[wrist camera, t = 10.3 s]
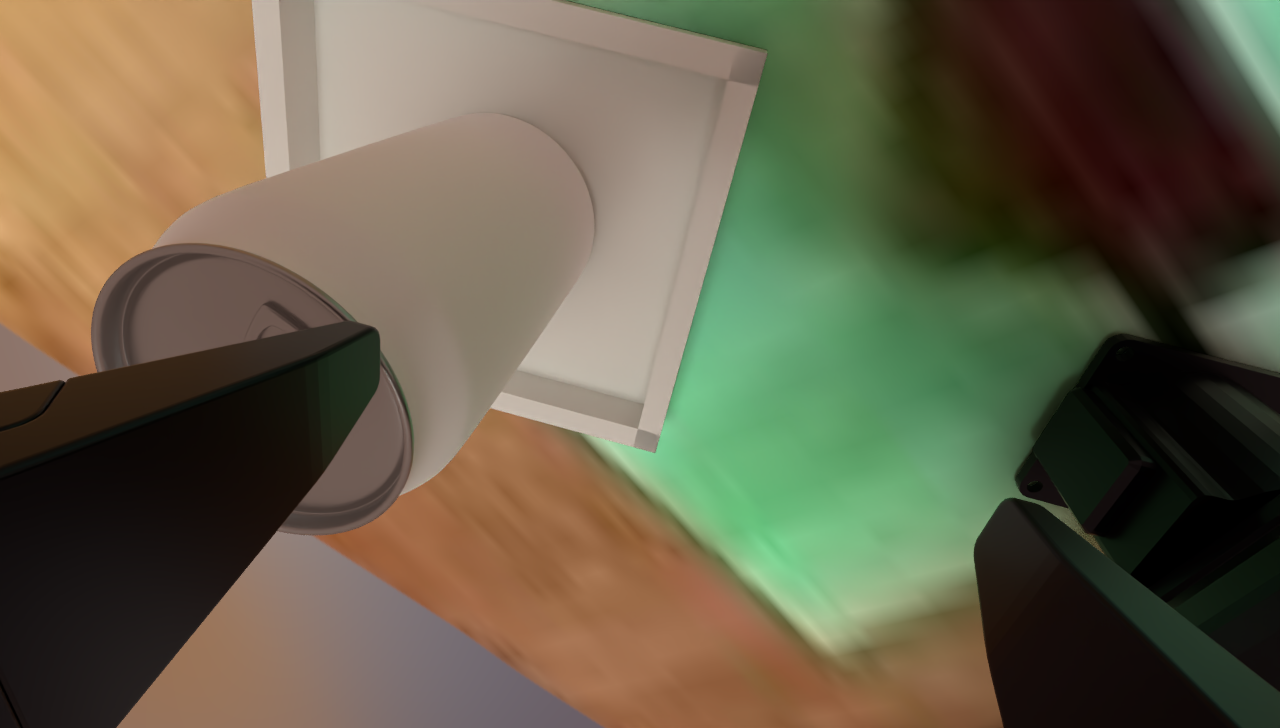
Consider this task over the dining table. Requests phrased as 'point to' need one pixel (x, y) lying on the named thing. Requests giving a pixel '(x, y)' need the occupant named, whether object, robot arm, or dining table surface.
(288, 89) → the tray
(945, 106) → the dining table surface
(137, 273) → the can
